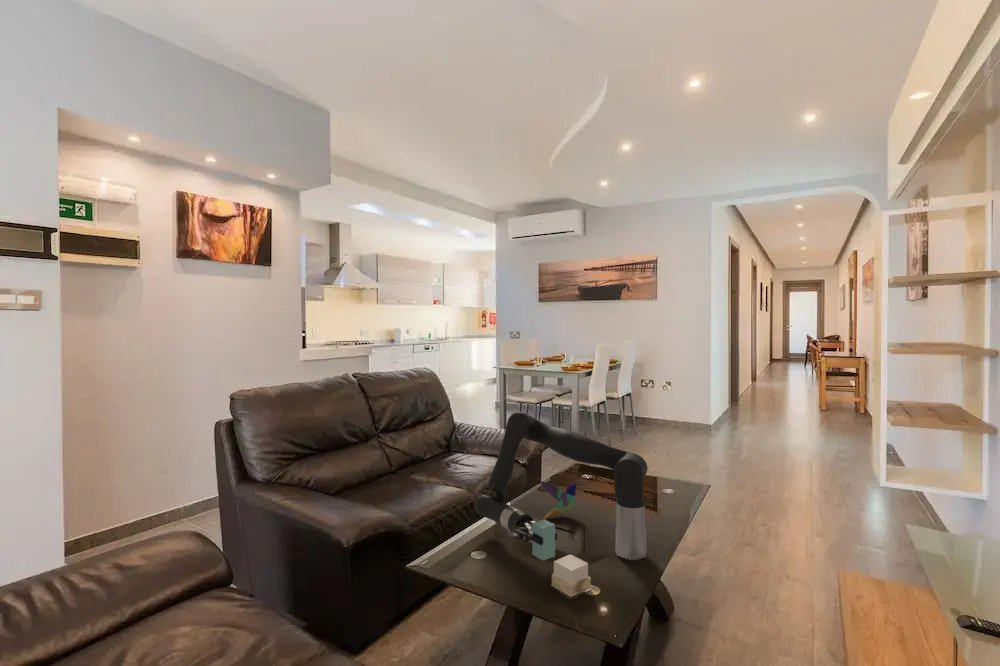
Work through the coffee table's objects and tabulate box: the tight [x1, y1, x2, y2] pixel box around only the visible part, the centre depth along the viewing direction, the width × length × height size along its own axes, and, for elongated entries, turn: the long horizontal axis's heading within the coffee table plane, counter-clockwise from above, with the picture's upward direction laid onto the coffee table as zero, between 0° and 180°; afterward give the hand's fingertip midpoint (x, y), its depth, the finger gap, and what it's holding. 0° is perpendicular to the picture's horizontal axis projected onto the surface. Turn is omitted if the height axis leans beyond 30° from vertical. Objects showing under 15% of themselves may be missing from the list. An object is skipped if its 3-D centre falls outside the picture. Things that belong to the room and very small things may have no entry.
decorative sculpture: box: [540, 476, 585, 520], centre depth 197 cm, size 17×18×15 cm
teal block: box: [531, 519, 556, 561], centre depth 155 cm, size 5×5×10 cm
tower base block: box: [551, 572, 592, 597], centre depth 145 cm, size 8×8×4 cm
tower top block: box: [553, 554, 589, 585], centre depth 144 cm, size 7×7×4 cm
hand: (549, 539), depth 153 cm, fingers closed on teal block, 5 cm apart
